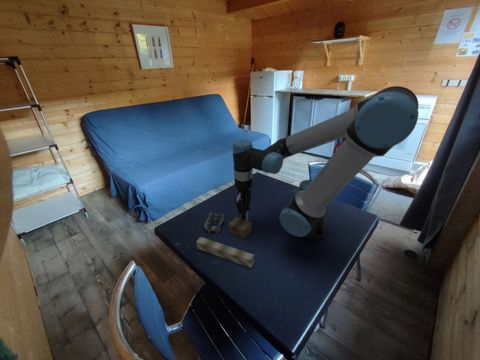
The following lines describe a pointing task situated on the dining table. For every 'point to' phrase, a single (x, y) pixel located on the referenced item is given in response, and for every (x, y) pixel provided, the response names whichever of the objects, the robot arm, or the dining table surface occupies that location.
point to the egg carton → (215, 221)
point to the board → (225, 252)
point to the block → (240, 227)
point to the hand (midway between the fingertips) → (244, 222)
